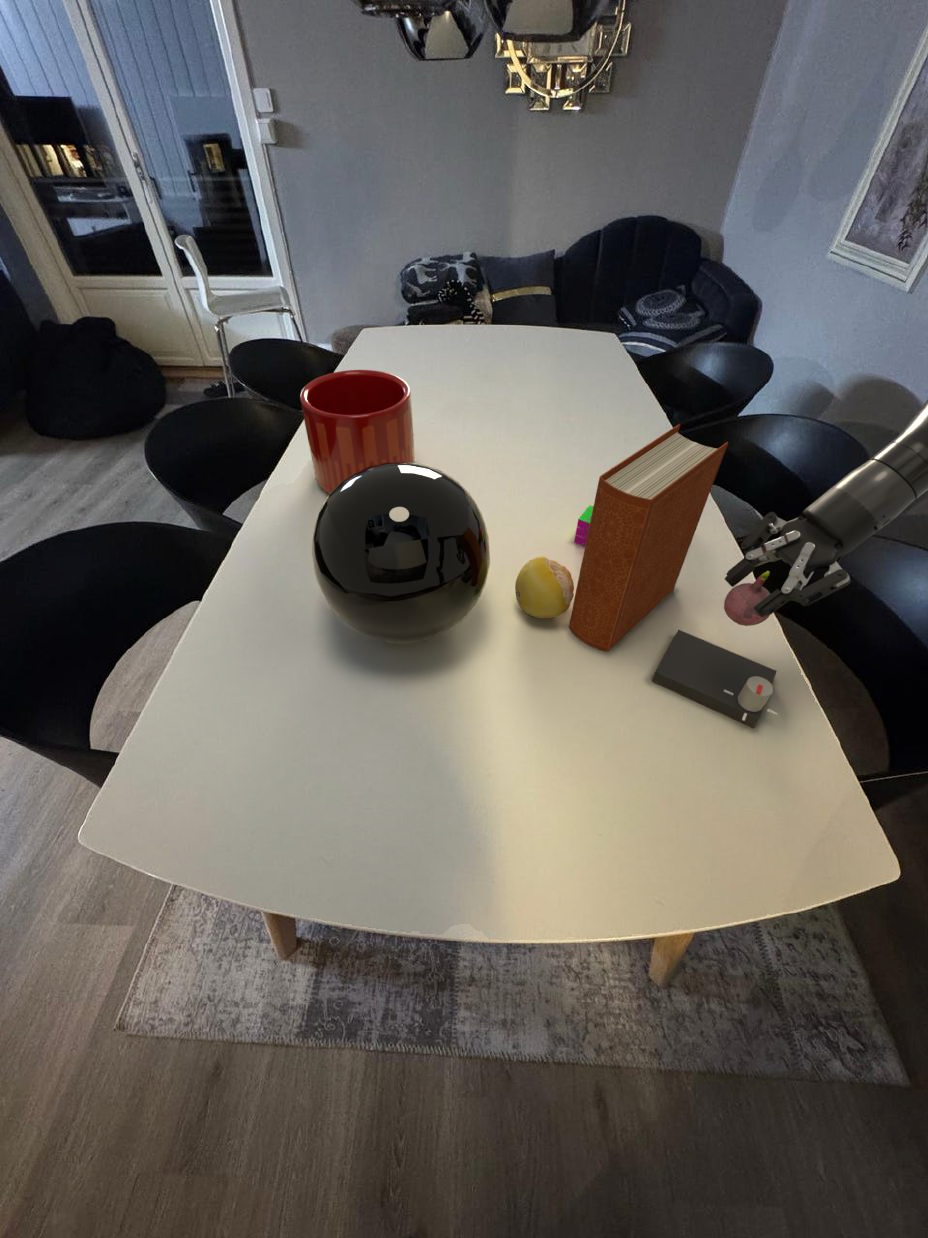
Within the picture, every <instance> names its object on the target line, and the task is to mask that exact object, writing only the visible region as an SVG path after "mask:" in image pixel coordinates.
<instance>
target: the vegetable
mask: <svg viewBox="0 0 928 1238" xmlns="http://www.w3.org/2000/svg"><path fill="white" fill-rule="evenodd" d="M765 571H766V570H765ZM770 573H771V571H769V570H767V571H766V572H763V573H762V574H760V575H759V576H758V577H757V578H756V579H755V581H754V582H753V583H751V582H745V583H744V582H743V583H740V584H737V585H735V586H733V587H732V588H731V589H730V590H729V592H728V593H727V594H726V597H725V599H724V602H723V609H724V612H725V614H726V616H727V617H728V618H729V620H731V621H732V622H734V623H735V624H738V625H739V626H743V627H748V626H757V625H759V624H761V623H764V622H765V621H767V619H769V617H770V616H771V615H768V616H767V615H766V614H765V615H764V616H760V615H759V614H758V613H757V612H756V611H755V610H754V607H755V606H756V605H757V604H758V603H760V602H761V601H762V600H764V599H765V598H766V597H767V596H769V595H770V594H771V593H770V591H769V590H768V589H767V588H766V587H764V586H763V585H764V583H765V582H766V581H767V580H768V579H769V578H768V577H770Z"/></svg>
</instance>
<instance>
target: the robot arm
mask: <svg viewBox="0 0 928 1238" xmlns="http://www.w3.org/2000/svg"><path fill="white" fill-rule="evenodd" d="M927 491H928V398H927V399H926V400H925V402H924V403H923V405H922V406H921V407H920V409H919V410H918V411H917V412H916V413H915V415H914V416H913V417H912V419H911V420H910V421H909V422H908V424H907V425H906V426H905V427H904V429H903V430H902V431H901V432H900V433H899V434H898V435H897V436H896V437H894V439H893V440H891V441H890V442H889V443H888V444H886V445H885V446H884V447H883V448H882V449H881V450H879V451H878V452H876V454H873V456H871V457H870V458H869V459H868V460H867V461H866V462H864V463H863V464H861V465H859V466H858V467H856V468H854V469H853V470H852V471H850V472H849V473H848V474H846V475H845V476H844V477H842V478H841V479H840V480H839V481H838V482H837V483H836V484H834V485H833V486H831V487H830V488H829V489H828V490H827V491H826V492H824V493H823V494H822V495H820V496H819V497H818V498H817V499H816V500H814V501H813V502H812V503H811V504H810V505H808V506H807V507H806V508H805V509H804V510H803V511H802V512H801V514H800V515H799V516H797V517H796V518H794V519H791V520H788V521H786V520H784V519H782V518H780V517H778V515H777V513H775V511H769V512H768V513H767V514H766V515H765V516H764V517H763V518H762V519H761V520H760V521H759V523H758V524H757V525H756V526H755V527H754V528H753V529H752V530H751V532H750V533H749V534H748V535H747V536H746V537H745V539H743V541H742V542H741V544H740V547H741V548H742V551H743V552H744V557H743V558H742V559H741V560H740V561H738V563H736V564H735V565H734V566H732V567H731V568H730V569H728V570H727V572H726V573H725V575H726V576H725V577H724V580H725V581H726V583H727V584H728V585H729V586H730V587H732V588H734V587H736V586H737V585H739V583H740V582H741V581H743V580H744V579H746V578H747V577H748V576H749V575H750V574H752V573H753V572H754V571H756V569H755V568H756V567H759V566H762V565H765V564H767V563H774V562H777V561H780V560H781V561H783V562H784V563H786V564H788V565H789V566H790V567H791V568H790V570H789V572H788V577H787V578H786V580H785V581H784V583H783V585H782V587H781V588H780V589H778V588H776V589H775V590H774V591H772V592H771V593H770V595H769V596H767V597H766V598H765V599H764V600H762V601H761V602H760V603H758V604H757V605H756V606H755V607H754V610H755V611H756V612H757V613H758V614H759V615H760V616H764V615H765V614H766V615H767V616H768V615H770V616H771V615H773V614H774V613H775V612H776V611H778V610H779V609H780V608H781V607H783V606H784V605H785V604H787V603H788V602H793V601H794V602H796V603H798V604H801V606H803V607H808V606H811V605H812V604H815V603H816V602H818V601H820V600H821V599H822V600H823V598H826V597H827V596H830V595H832V594H834V593H835V592H837V591H839V590H841V589H843V588H845V587H847V586H848V585H849V584H851V581H852V579H851V578H850V575H849V574H848V572H847V570H846V569H844V568H842V567H841V565H840V562H841V561H842V558H843V557H844V556H845V555H847V554H849V553H851V552H853V551H854V550H855V549H856V548H857V547H859V546H860V545H862V544H863V543H864V542H866V540H868V539H870V538H871V537H872V536H874V535H875V534H876V533H877V532H879V531H880V530H881V529H883V528H884V527H886V526H888V525H889V524H891V522H892V521H893V520H894V519H896V518H897V517H898V516H899V515H900V514H902V513H903V511H904V510H905V509H907V508H908V506H910V505H911V504H912V503H914V501H915V500H917V499H918V498H920V496H922V495H923V494H925V493H926V492H927ZM779 532H780V533H779ZM778 533H779V537H778V538H775V539H772V540H770V541H768V540H769V539H770V538H771V536H772V535H776V534H778ZM825 570H826V572H825V573H824V575H823V577H822V578H820V579H818V580H816V581H814V582H812V583H810V584H808V583H809V581H810V580H811V578H812V576H813V574H814V573H815V572H820V571H825ZM807 584H808V585H807ZM806 585H807V586H806Z"/></svg>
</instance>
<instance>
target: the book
mask: <svg viewBox="0 0 928 1238" xmlns="http://www.w3.org/2000/svg"><path fill="white" fill-rule="evenodd" d="M680 427H681V424H680V423H678V424H677V425H675V426H673V427H672V428H671V429H669V430H668V431H666V432H665V433H663V434H661V435H660V436H659V437H657V438H656V439H654V440H653V441H651V442H649V443H648V444H646V445H644V446H643V447H642V448H640V449H639V450H637V451H636V452H634V453H632V454H631V455H629V457H626V458H625V459H624V460H622V461H621V462H619V463H617V464H616V465H615V466H613V467H612V468H609V470H607V471H605V472H604V473H602V474H601V475H600V476H599V477H598V478H599V479H598V483H597V487H596V491H595V492H596V493H595V497H594V502H593V505H592V506H593V511H592V516H591V521H590V526H589V531H588V535H587V540H586V545H585V546H584V549H583V556H582V560H581V565H580V568H579V569H580V570H579V575H578V580H577V585H576V589H575V594H574V597H573V603H572V607H571V614H570V618H569V623H568V629H569V630H570V632H571V633H572V634H573V635H574V636H575V637H576V638H577V639H578V640H579V641H581V642H582V643H584V644H586V645H587V646H590V647H591V648H594V649H596V650H599V651H603V652H606V653H608V652H609V651H610V650H612V649H613V647H615V646H616V645H617V644H618V643H619V642H620V641H621V640H622V639H623V638H624V637H625V636H626V635H627V634H628V633H629V632H631V630H632V629H633V628H634V627H636V626H637V625H638V624H639V623H640V622H641V621H642V620H643V619H644V618H645V617H646V616H647V615H649V613H651V612H652V611H653V610H654V609H655V608H656V607H657V606H658V605H659V604H660V603H662V601H663V600H664V599H666V598H667V596H669V594H671V593H672V592H673V591H674V589H675V588H676V584H677V582H678V579H679V576H680V573H681V571H682V568H683V565H684V564H685V563H684V562H685V560H686V557H687V555H688V552H689V549H690V546H691V544H692V541H693V538H694V537H695V533H696V531H697V527H698V524H699V522H700V520H701V517H702V514H703V512H704V509H705V507H706V504H707V501H708V498H709V496H710V493H711V490H712V488H713V485H714V482H715V479H716V478H717V474H718V471H719V469H720V466H721V464H722V461H723V458H724V456H725V453H726V450H727V448H728V445H729V442H728V441H726V442H725V443H723V444H722V445H721V446H719V447H718V448H716V447H711V446H706V445H703V444H701V443H698V442H696V441H692V440H690V439H689V438H687V437H684V436H683V435H682V434H680V433H679V431H680Z"/></svg>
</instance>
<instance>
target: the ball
mask: <svg viewBox="0 0 928 1238" xmlns="http://www.w3.org/2000/svg"><path fill="white" fill-rule="evenodd" d="M490 552H491V551H490V537H489V534H488V530H487V527H486V523H485V521H484V517H483V514H482V512H481V510H480V507H478V504H477V503H476V501H475V500H474V498H473V496H472V495H471V493H470V492H469V491H468V490H467V489H466V488H465V487H464V486H463V485H462V484H461V483H460V482H459V481H458V480H456V479H454V477H452V476H450V475H449V474H447V473H446V472H444V471H442V470H440V469H438V468H434V467H431V466H428V465H425V464H422V463H417V462H415V463H410V462H385V463H381V464H377V465H372V466H369V467H367V468H365V469H362V470H360V471H358V472H355V473H354V474H352V475H351V476H349V477H348V478H346V479H345V480H343V481H342V482H341V483H340V484H339V485H338V486H337V487H336V488H335V489H334V490H333V491H332V492H331V493H328V496H327V497H326V499H324V502H323V503H322V504H321V506H320V509H319V511H318V515H317V517H316V519H315V522H314V525H313V528H312V538H311V557H312V566H313V570H314V574H315V578H316V581H317V584H318V588H319V590H320V593H321V595H322V596H323V598H324V599H325V601H326V602H327V604H328V605H329V607H330V609H331V610H332V612H333V613H334V614H335V615H336V616H337V617H338V618H339V619H340V620H341V621H342V622H344V624H346V626H348V627H349V628H351V629H352V630H354V631H356V632H358V633H359V634H361V635H364V636H366V637H369V639H370V638H371V639H372V640H376V641H380V642H384V643H385V642H386V643H392V644H393V643H395V644H410V643H420V642H423V641H426V640H430V639H433V638H435V637H437V636H439V635H441V634H444V633H445V632H447V631H449V630H451V629H452V628H453V627H454V626H456V625H458V624H459V623H460V622H462V621H463V620H464V619H465V618H466V617H467V616H468V614H470V613H471V612H472V610H473V609H474V607H475V606H476V605H477V603H478V601H479V600H480V598H481V596H482V594H483V592H484V590H485V587H486V584H487V580H488V576H489V571H490V565H491V555H490Z"/></svg>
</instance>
